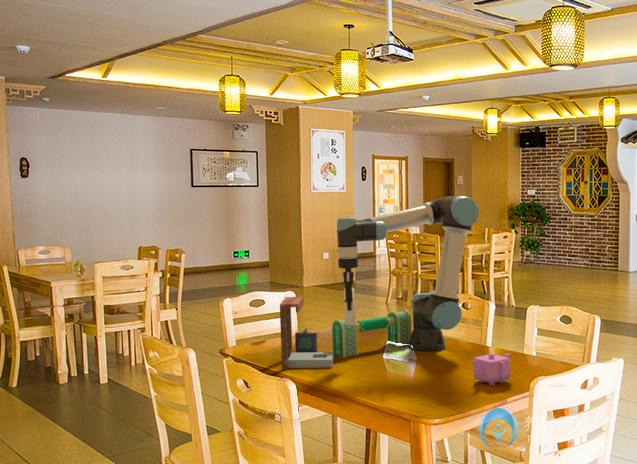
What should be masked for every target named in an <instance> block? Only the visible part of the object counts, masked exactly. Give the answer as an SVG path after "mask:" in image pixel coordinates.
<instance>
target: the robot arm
mask: <svg viewBox="0 0 637 464" xmlns="http://www.w3.org/2000/svg"><path fill="white" fill-rule="evenodd" d="M479 216H480V210H479V205H478V204H477V202H476V201H475V200H474V199H473V198H471V197H469V196H464V195H463V196H462V195H459V196H458V195H456V196H450V195H449V196H445V197H440V198H437V199H434V200H432V201H428V202H424V203H423V204H422V205H421V206H417V207H412V208H408V209H403V210H399V211H394V212H390V213H386V214H381V215H377V216H373V217H372V216H371V217H368V218H364V219H357V217H340V218H338V219H337V220H336V221H337V222H336V233H337V234H336V236H337V237H336V238H337V248H336V252H338V253H337V257H338V259H337V261H338V263H337V264H338V268H339V269H344V272H343V273H342V276H343V284H344V288H345V293H346V299H345V300H346V301H343V303H344V302H346V319H353V302H352V301H353V299H352V288H353V284H354V274H355V273H354V271H352V269H357V268H358V267H359V265H358V263H359V261H358V258H357V257H358V256H359V253H358V242H371V241H373V242H374V241H383V240H385V238H386V237H387V234H388V233H391V232H394V231H395V232H396V231H399V230H405V229H409V228H412V227H417V226H422V225H425V224H427V225H428V226H432V225H440V224H442V227H441V228H442V229H443V230H444V236H443V240H442V241H443V242H442V248H441V254H440V259H439V266H438V270H437V278H436V284H435V289H434V290H432V291H431V292H425V293H424V292H423V293H416V294H414V295H412V303H411V304H412V325H413V326H412V328H413V329H412V335H411V338H410V345H412V346H413V348H414V349H413V350H417V351H427V352H428V351H440V350H443V349H445V348H446V339H445V337H444V334H443V331H442V330H445V331H448V330H452V329H454V328H455V327H457V326H458V325H459V323H460V322H461V320H462V317H463V312H462V309H461V307H460V304H459V303H460V296H459V295H458V293H457V292H458V286H459V280H460V273H461V269H462V262H463V258H464V257H463V256H464V250H465V245H466V240H467V235H469V234H470V233H471V232H472V226H473V225H474V224H475V223H476V222H477V221H478V220H479ZM354 300H355V296H354ZM410 345H409V346H410Z"/></svg>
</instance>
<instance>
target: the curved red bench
mask: <svg viewBox="0 0 637 464" xmlns="http://www.w3.org/2000/svg"><path fill="white" fill-rule="evenodd" d="M303 305H304V296H285V297H284V298H283V300H282V301H281V302H280V304H279V316H280V317H279V318H280V321H279V322H280V346H281V347H280V349H281V371H287V370H288V369H289V368H288V359H289V357H290V355H291V353H293V333H292V331H293V330H292V327H293V326H292V308H295V313H299V312H300V311H301V309H302V307H303Z"/></svg>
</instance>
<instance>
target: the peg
mask: <svg viewBox="0 0 637 464" xmlns="http://www.w3.org/2000/svg"><path fill="white" fill-rule="evenodd" d="M354 297H355V287H352V299H353V301H352V302H353V319H346V302H344V301H346V300H345V299H346V293H345V287H344V288H343V300H344V301H343V304H344V305H343V306H344V320H345V325H355V322H356V308H355V304H356V303H355V299H354Z"/></svg>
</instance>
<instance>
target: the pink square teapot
mask: <svg viewBox="0 0 637 464" xmlns="http://www.w3.org/2000/svg"><path fill="white" fill-rule="evenodd" d="M510 354H511V353H505V354H504V355H498V354H495V353H488V354H485V355H479V356H476V357H473V360H472V363H473V379H475V380H477V381H478V382H479V383H488V385H489V386H495V385H496V383H497V382H498V383H500V384H505V383H506V382H505V380H510V378H511V372H510V371H511V368H510V367H511V365H510V359H511V358H510V357H509V356H510Z"/></svg>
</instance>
